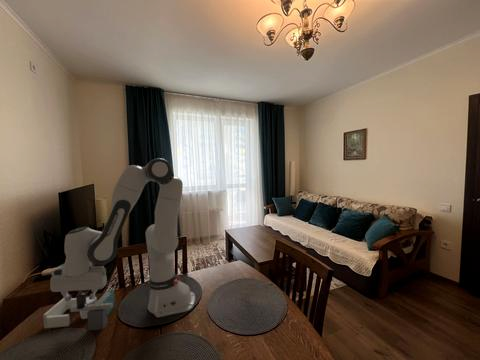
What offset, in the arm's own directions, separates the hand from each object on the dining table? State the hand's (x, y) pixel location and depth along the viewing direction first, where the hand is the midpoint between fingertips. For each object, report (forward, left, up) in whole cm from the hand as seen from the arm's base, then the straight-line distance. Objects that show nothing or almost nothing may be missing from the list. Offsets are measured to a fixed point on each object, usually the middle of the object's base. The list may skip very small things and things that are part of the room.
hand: (80, 299), depth 88 cm
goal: (+12, -9, -13) cm, 20 cm away
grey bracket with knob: (-4, -6, -13) cm, 15 cm away
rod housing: (-6, 0, -13) cm, 14 cm away
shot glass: (+3, -9, -13) cm, 16 cm away
